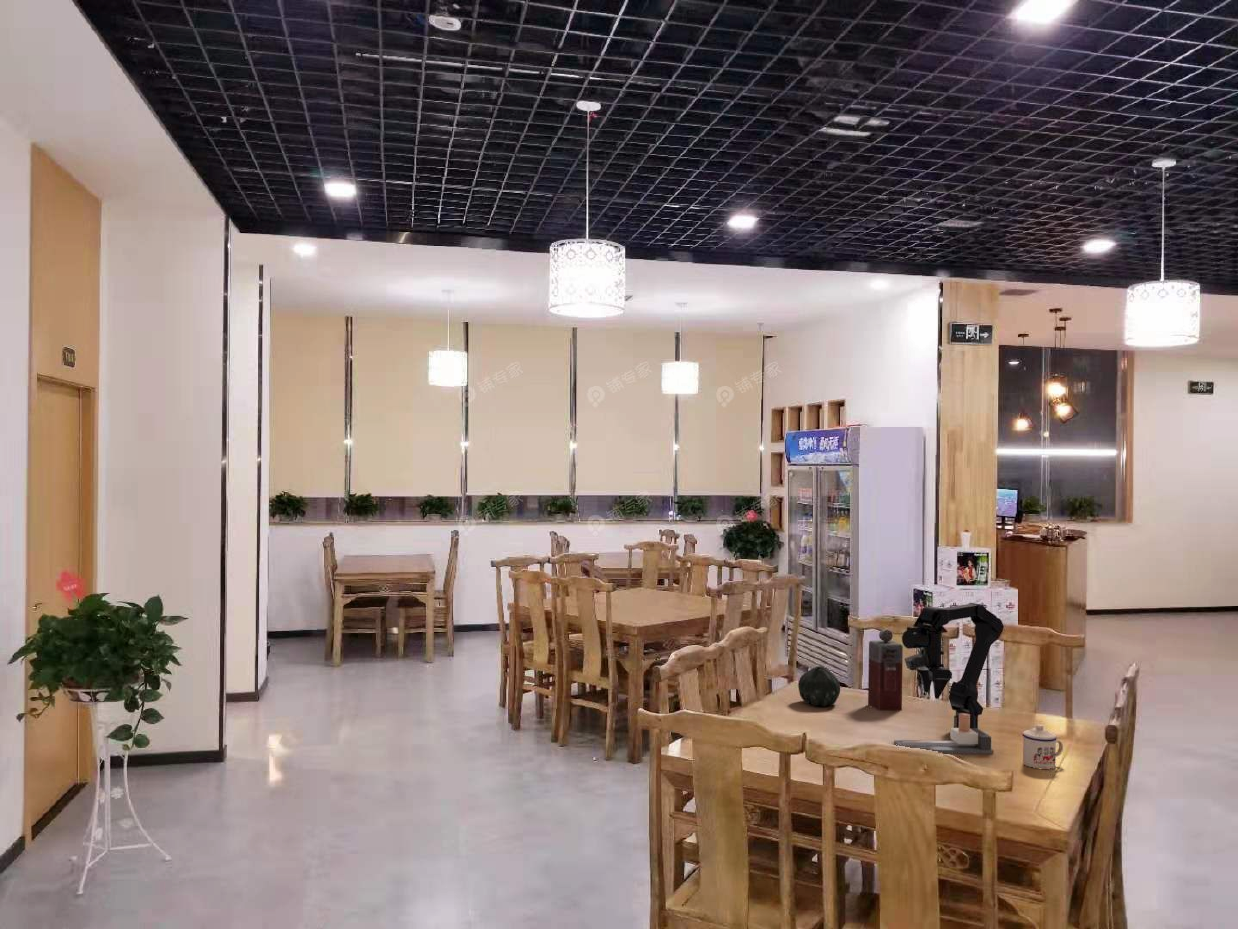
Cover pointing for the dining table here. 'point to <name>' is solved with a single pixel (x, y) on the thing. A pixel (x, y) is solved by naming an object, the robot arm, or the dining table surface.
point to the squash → (819, 687)
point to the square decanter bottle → (885, 673)
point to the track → (953, 745)
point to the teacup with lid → (1040, 748)
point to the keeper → (964, 731)
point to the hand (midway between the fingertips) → (931, 695)
